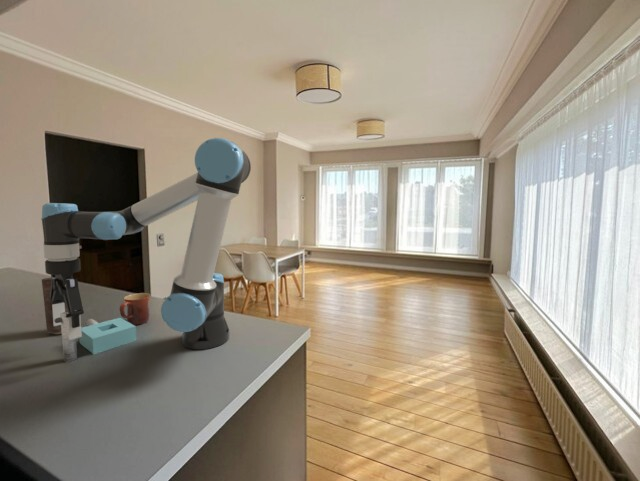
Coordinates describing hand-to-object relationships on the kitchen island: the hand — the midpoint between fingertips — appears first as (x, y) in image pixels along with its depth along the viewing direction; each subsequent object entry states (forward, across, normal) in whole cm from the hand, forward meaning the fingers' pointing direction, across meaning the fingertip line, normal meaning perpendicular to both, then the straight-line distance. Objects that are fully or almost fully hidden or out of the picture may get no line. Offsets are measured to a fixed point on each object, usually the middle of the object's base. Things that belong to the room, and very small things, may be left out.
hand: (67, 331), depth 86 cm
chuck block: (+9, +9, -11) cm, 17 cm away
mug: (+9, +13, -23) cm, 28 cm away
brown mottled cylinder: (+9, +25, -4) cm, 27 cm away
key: (+9, 0, 0) cm, 9 cm away
